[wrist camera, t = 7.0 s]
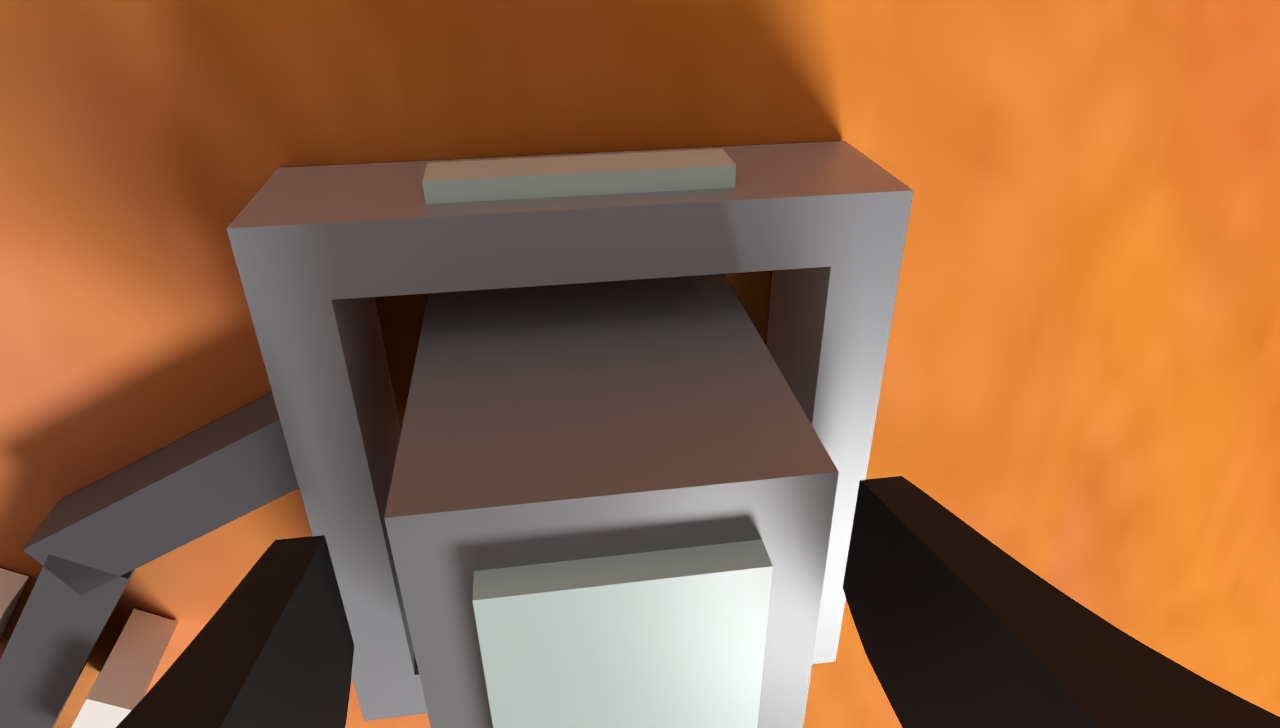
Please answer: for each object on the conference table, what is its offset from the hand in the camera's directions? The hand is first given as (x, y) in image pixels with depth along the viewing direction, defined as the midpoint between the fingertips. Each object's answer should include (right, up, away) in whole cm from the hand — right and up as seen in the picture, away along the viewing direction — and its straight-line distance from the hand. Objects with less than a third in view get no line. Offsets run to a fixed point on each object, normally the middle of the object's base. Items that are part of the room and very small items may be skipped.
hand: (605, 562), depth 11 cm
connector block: (-1, +2, +4) cm, 4 cm away
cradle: (0, +2, +3) cm, 4 cm away
